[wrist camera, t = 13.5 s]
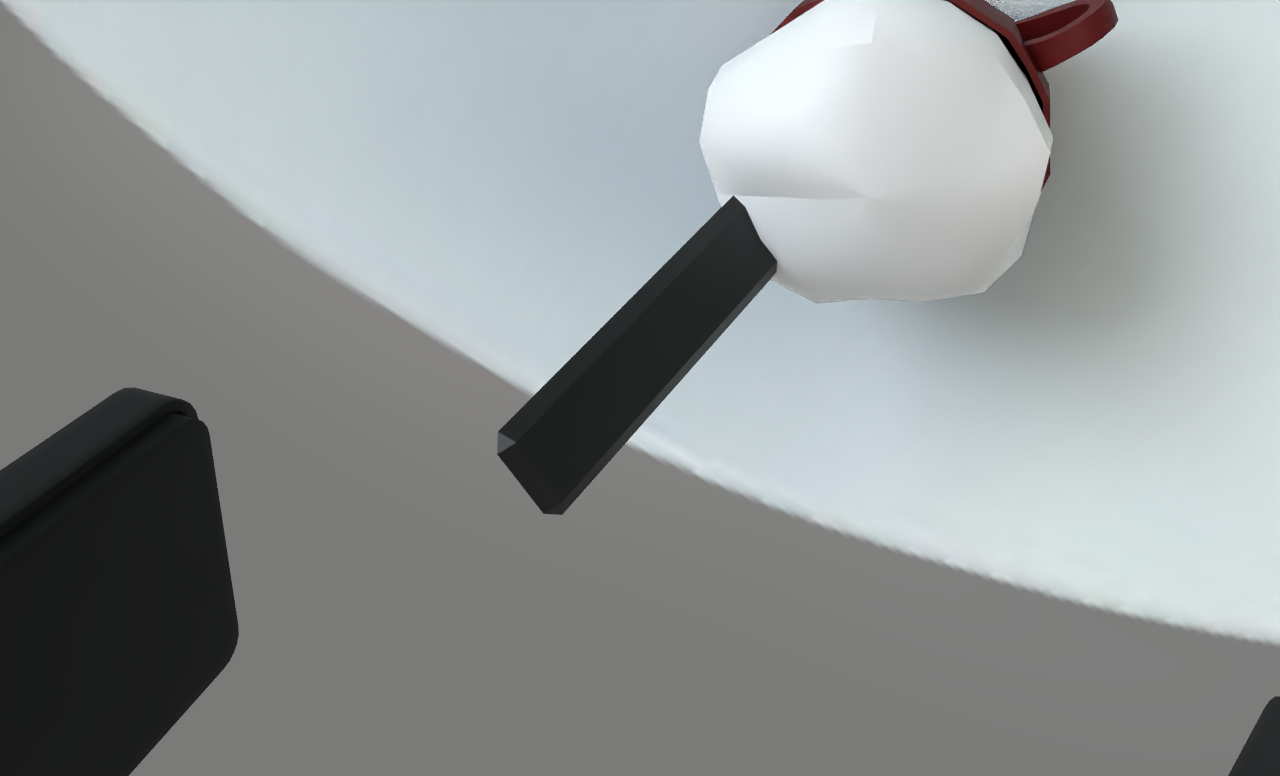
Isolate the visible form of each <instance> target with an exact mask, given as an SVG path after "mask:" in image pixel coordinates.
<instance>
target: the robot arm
mask: <svg viewBox="0 0 1280 776" xmlns="http://www.w3.org/2000/svg"><path fill="white" fill-rule="evenodd" d="M238 635H239V634H238V621H237V615H236V608H235V601H234V595H233V588H232V582H231V575H230V568H229V562H228V555H227V548H226V541H225V535H224V528H223V522H222V515H221V509H220V501H219V495H218V488H217V482H216V475H215V469H214V461H213V456H212V448H211V442H210V435H209V432H208V428H207V426H206V425H205V424H204V422H202V421H200V420H198V417H197V413H196V410H195V409H194V408H193V407H192V405H191V404H190V403H188V402H186V401H184V400H182V399H177V398H173V397H170V396H165V395H161V394H158V393H154V392H149V391H146V390H142V389H138V388H124V389H122V390H120V391H117V392H116V393H114V394H112V395H111V396H109V397H108V398H106V399H105V400H103V401H102V402H101V403H99V404H98V405H96V406H95V407H93V408H92V409H90V410H89V411H87V412H86V413H84V414H83V415H81V416H80V417H78V418H77V419H75V420H74V421H73V422H71V423H70V424H68V425H67V426H65V427H64V428H62V429H61V430H60V431H58V432H56V433H55V434H53V435H52V436H51V437H49V438H48V439H46V440H45V441H43V442H42V443H40V444H39V445H37V446H36V447H34V448H33V449H31V450H30V451H28V452H27V453H26V454H24V455H23V456H21V457H20V458H19V459H17V460H15V461H14V462H12V463H11V464H9V465H8V466H7V467H5V468H3V469H2V470H1V471H0V776H129V775H130V773H131V772H132V771H133V770H134V769H135V768H136V767H137V765H138V764H139V763H140V762H141V761H142V760H143V759H144V758H145V757H146V755H147V754H148V753H149V752H150V751H151V750H152V749H153V748H154V746H155V745H156V744H157V743H158V742H159V741H160V740H161V739H162V738H163V736H164V735H165V734H166V733H167V732H168V731H169V729H171V727H172V726H173V725H174V724H175V723H176V722H177V721H178V720H179V718H180V717H181V716H182V715H183V714H184V713H185V712H186V711H187V709H188V708H189V707H190V706H191V705H192V704H193V703H194V702H195V700H196V699H197V698H198V697H199V696H200V695H201V694H202V693H203V691H204V690H205V689H206V688H207V687H208V686H209V685H210V683H211V682H212V681H213V680H214V679H215V678H216V677H217V676H218V675H219V674H220V672H221V671H222V670H223V669H224V668H225V666H226V665H227V663H228V662H229V661H230V659H231V657H232V655H233V653H234V650H235V647H236V645H237V640H238ZM1228 776H1280V697H1274V698H1273V699H1271V700H1270V701H1269V702H1268V704H1267V705H1266V707H1265V708H1264V710H1263V712H1262V714H1261V716H1260V718H1259V719H1258V721H1257V723H1256V725H1255V727H1254V729H1253V731H1252V732H1251V735H1250V736H1249V738H1248V740H1247V742H1246V744H1245V746H1244V747H1243V749H1242V751H1241V753H1240V755H1239V757H1238V759H1237V760H1236V762H1235V764H1234V766H1233V768H1232V770H1231V772H1230V774H1229V775H1228Z"/></svg>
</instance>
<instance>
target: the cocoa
mask: <svg viewBox="0 0 1280 776" xmlns="http://www.w3.org/2000/svg"><path fill="white" fill-rule="evenodd" d="M1117 21H1118V18H1117V15H1116V12H1115V9H1114V5H1113V3H1112V2H1111V0H1076V1H1073V2H1070V3H1067V4H1064V5H1061V6H1058V7H1056V8H1053V9H1050V10H1047V11H1045V12H1042V13H1040V14H1037V15H1034V16H1032V17H1029V18H1026V19H1023V20H1020V21H1018V22H1014V20H1013V19H1011V18H1010V17H1009V16H1008V15H1006V14H1004V13H1003V12H1001V11H1000V10H998V9H997V8H995V7H994V6H992V5H991V4H989V3H988V2H986V1H984V0H804V1H803V2H802V3H801V4H799V5H798V6H797V7H796V8H795V9H794V10H793V11H792V12H791V13H790V14H789V15H788V16H787V18H786V19H785V20H784V21H783V22H782V23H781V24H780V25H779V26H778V27H777V28H776V29H775V30H774V31H773V32H772V33H771V34H770V35H769V36H768V37H766V38H764V39H763V40H761V41H760V42H758V43H756V44H755V45H753V46H752V47H750V48H748V49H747V50H745V51H743V52H742V53H740V54H739V55H737V56H735V57H734V58H732V59H731V60H729V61H727V62H726V63H724V64H723V65H722V66H721V68H720V70H719V71H718V73H717V75H716V77H715V79H714V80H713V82H712V84H711V86H710V87H709V89H708V95H707V100H706V106H705V112H704V117H703V123H702V129H701V134H700V140H699V143H700V146H701V149H702V152H703V155H704V158H705V161H706V164H707V167H708V170H709V173H710V176H711V179H712V182H713V185H714V188H715V191H716V194H717V197H718V200H719V203H720V206H721V208H720V209H719V210H718V211H717V212H716V213H715V214H714V215H713V216H712V217H711V218H710V219H709V220H708V221H707V222H706V223H705V224H704V225H703V226H702V227H701V228H700V229H699V230H698V231H697V233H696V234H695V235H694V236H693V237H692V238H691V239H690V240H689V241H688V242H687V243H686V244H685V245H684V246H683V247H682V248H681V249H680V250H679V251H678V252H677V253H676V254H675V255H674V256H673V257H672V258H671V259H670V260H669V261H668V262H667V263H666V264H665V265H664V266H663V267H662V268H661V269H660V270H659V271H658V272H657V273H656V274H655V275H654V276H653V277H652V278H651V279H650V280H649V281H648V282H647V283H646V284H645V285H644V286H643V287H642V288H641V289H640V290H639V291H638V292H637V293H636V294H635V295H634V296H633V297H632V298H631V299H630V300H629V301H628V302H627V303H626V304H625V305H624V306H623V307H622V308H621V309H620V310H619V311H618V312H617V313H616V314H615V315H614V316H613V317H612V318H611V319H610V320H609V321H608V322H607V323H606V324H605V325H604V326H603V327H602V328H601V329H600V330H599V331H598V332H597V333H596V334H595V335H594V336H593V337H592V338H591V339H590V340H589V341H588V342H587V343H586V344H585V345H584V346H583V347H582V348H581V349H580V350H579V351H578V352H577V353H576V354H575V355H574V356H573V357H572V358H571V359H570V360H569V361H568V362H567V363H566V364H565V365H564V366H563V367H562V368H561V369H560V370H559V371H558V372H557V373H556V374H555V375H554V376H553V377H552V378H551V379H550V380H549V381H548V382H547V383H546V384H545V385H544V386H543V387H542V388H541V389H540V390H539V391H538V392H537V393H536V394H535V395H534V396H533V397H532V398H531V399H530V400H529V401H528V402H527V403H526V404H525V405H524V407H522V408H521V409H520V410H519V411H518V412H517V413H516V414H515V415H514V416H513V417H512V418H511V419H510V420H509V421H508V422H507V424H505V425H504V426H503V427H502V428H501V429H500V430H499V431H498V451H497V452H498V453H497V454H498V456H499V457H500V458H501V460H502V461H503V462H504V463H505V464H506V466H507V467H508V468H509V470H510V471H511V472H512V474H513V475H514V476H515V478H516V479H517V480H518V481H519V483H520V484H521V485H522V487H523V488H524V489H525V490H526V492H527V493H528V494H529V495H530V497H531V498H532V499H533V501H534V502H535V503H536V505H538V507H539V508H540V510H541V511H542V512H543V513H544V514H560V515H562V514H563V513H564V512H565V511H566V510H567V509H568V507H569V506H570V505H571V504H572V503H573V502H574V501H575V500H576V498H577V497H578V496H579V495H580V494H581V493H582V491H583V490H584V489H585V488H586V487H587V486H588V485H589V484H590V483H591V481H592V480H593V479H594V478H595V477H596V476H597V475H598V474H599V472H600V471H601V470H602V469H603V468H604V467H605V466H606V464H607V463H608V462H609V461H610V460H611V459H612V458H613V457H614V455H615V454H616V453H617V452H618V451H619V450H620V449H621V448H622V446H623V445H624V444H625V443H626V442H627V441H628V440H629V438H630V437H631V436H632V435H633V434H634V433H635V432H636V431H637V429H638V428H639V427H640V426H641V425H642V424H643V423H644V422H645V420H646V419H647V418H648V417H649V416H650V415H651V414H652V412H653V411H654V410H655V409H656V408H657V407H658V406H659V405H660V403H661V402H662V401H663V400H664V399H665V398H666V397H667V395H668V394H669V393H670V392H671V391H672V390H673V389H674V388H675V386H676V385H677V384H678V383H679V382H680V381H681V380H682V379H683V377H684V376H685V375H686V374H687V373H688V372H689V371H690V369H691V368H692V367H693V366H694V365H695V364H696V363H697V362H698V360H699V359H700V358H701V357H702V356H703V355H704V354H705V352H706V351H707V350H708V349H709V348H710V347H711V346H712V345H713V343H714V342H715V341H716V340H717V339H718V338H719V337H720V336H721V334H722V333H723V332H724V331H725V330H726V329H727V328H728V326H729V325H730V324H731V323H732V322H733V321H734V320H735V319H736V317H737V316H738V315H739V314H740V313H741V312H742V311H743V309H744V308H745V307H746V306H747V305H748V304H749V303H750V302H751V300H752V299H753V298H754V297H755V296H756V295H757V294H758V293H759V291H760V290H761V289H762V288H763V287H764V286H765V285H766V283H767V282H768V281H769V280H772V281H774V282H776V283H778V284H780V285H782V286H784V287H786V288H788V289H790V290H792V291H794V292H795V293H797V294H799V295H801V296H803V297H805V298H807V299H809V300H811V301H813V302H815V303H825V302H836V301H847V300H858V299H869V298H875V299H890V300H906V301H921V302H928V301H935V300H941V299H947V298H953V297H959V296H965V295H971V294H977V293H983V292H985V291H986V290H987V289H988V288H989V287H990V286H991V285H992V284H993V283H994V282H995V281H996V280H997V279H998V278H999V277H1000V276H1001V275H1002V274H1003V273H1004V272H1005V271H1006V270H1007V269H1008V268H1009V267H1010V266H1011V265H1012V264H1013V263H1015V262H1016V261H1017V260H1018V259H1019V258H1020V257H1021V256H1022V252H1023V249H1024V245H1025V242H1026V238H1027V235H1028V231H1029V228H1030V224H1031V221H1032V217H1033V214H1034V210H1035V208H1036V206H1037V204H1038V201H1039V197H1040V193H1041V191H1042V189H1043V187H1044V185H1045V183H1046V181H1047V179H1048V177H1049V175H1050V152H1051V147H1052V143H1053V138H1054V137H1053V135H1052V133H1051V131H1050V92H1049V84H1048V82H1047V80H1046V78H1045V77H1044V75H1043V73H1042V71H1045V70H1047V69H1049V68H1052V67H1054V66H1056V65H1058V64H1060V63H1062V62H1064V61H1065V60H1067V59H1069V58H1071V57H1073V56H1075V55H1077V54H1078V53H1080V52H1082V51H1083V50H1085V49H1087V48H1088V47H1090V46H1092V45H1093V44H1095V43H1096V42H1097V41H1099V40H1100V39H1101V38H1103V37H1104V36H1105V35H1106V34H1107V33H1108V32H1110V31H1111V30H1112V29H1113V28H1114V27H1115V25H1116V23H1117Z"/></svg>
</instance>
